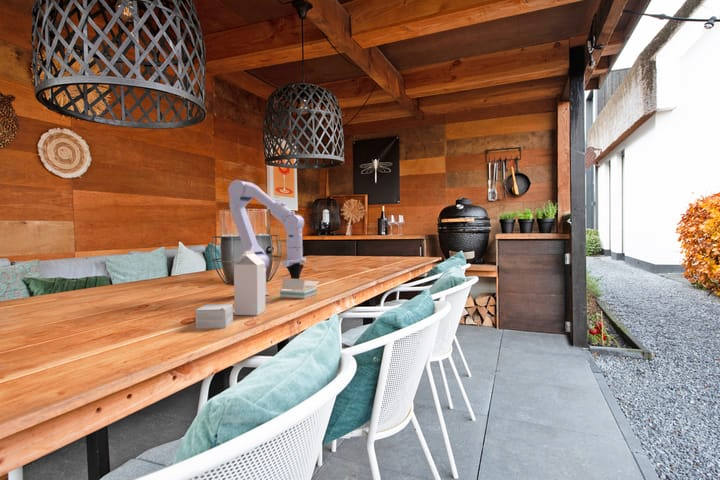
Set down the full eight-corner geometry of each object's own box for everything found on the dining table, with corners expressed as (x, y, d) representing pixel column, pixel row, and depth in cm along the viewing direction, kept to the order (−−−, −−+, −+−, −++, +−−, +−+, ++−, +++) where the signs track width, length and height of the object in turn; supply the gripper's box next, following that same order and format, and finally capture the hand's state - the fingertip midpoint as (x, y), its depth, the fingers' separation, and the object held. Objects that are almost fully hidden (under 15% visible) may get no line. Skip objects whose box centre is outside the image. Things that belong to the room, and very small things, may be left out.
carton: (304, 298, 144) (304, 291, 144) (279, 297, 148) (279, 290, 148) (316, 294, 154) (316, 287, 154) (293, 292, 157) (293, 286, 157)
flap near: (281, 288, 148) (283, 278, 149) (303, 290, 145) (305, 279, 146) (281, 288, 148) (283, 278, 149) (303, 290, 145) (304, 279, 146)
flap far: (315, 286, 154) (319, 281, 157) (294, 284, 157) (298, 280, 160) (315, 286, 154) (319, 282, 158) (294, 285, 157) (299, 281, 161)
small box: (205, 322, 110) (204, 303, 110) (233, 321, 111) (233, 303, 111) (194, 329, 103) (194, 309, 102) (225, 328, 103) (225, 309, 103)
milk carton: (265, 310, 124) (265, 249, 123) (257, 316, 117) (257, 251, 116) (243, 310, 125) (242, 249, 124) (234, 315, 118) (233, 251, 117)
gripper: (294, 248, 139) (295, 287, 140) (313, 246, 153) (313, 281, 153) (277, 248, 142) (277, 286, 142) (296, 246, 155) (297, 280, 156)
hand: (295, 283), depth 148 cm, fingers closed, pressing on flap near
